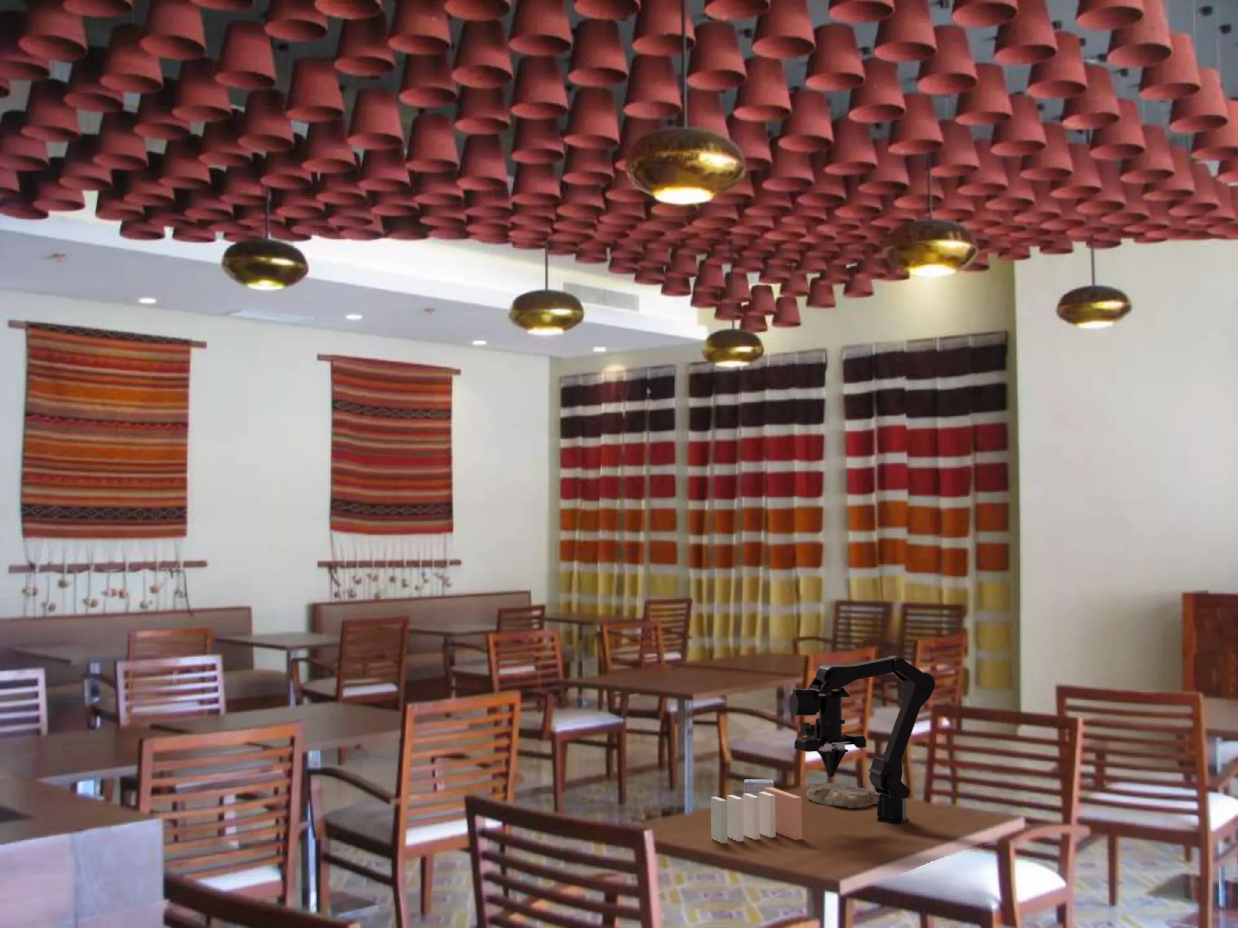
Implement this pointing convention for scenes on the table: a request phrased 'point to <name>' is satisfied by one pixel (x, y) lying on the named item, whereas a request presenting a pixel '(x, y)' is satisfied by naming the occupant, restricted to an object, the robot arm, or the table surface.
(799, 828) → the terracotta tile
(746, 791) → the medicine box
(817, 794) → the flat grey rock
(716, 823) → the sage domino
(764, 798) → the ivory domino
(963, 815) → the table surface
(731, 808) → the ivory domino
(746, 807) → the ivory domino
